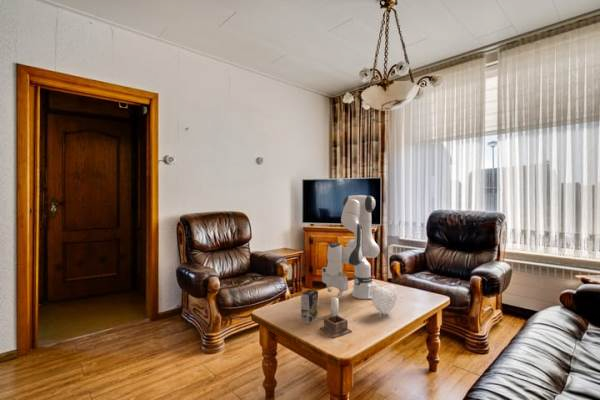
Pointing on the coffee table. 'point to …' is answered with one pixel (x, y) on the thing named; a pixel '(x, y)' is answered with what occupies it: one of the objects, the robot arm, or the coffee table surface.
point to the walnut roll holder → (335, 326)
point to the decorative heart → (384, 298)
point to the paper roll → (334, 306)
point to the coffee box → (309, 306)
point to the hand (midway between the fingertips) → (334, 294)
